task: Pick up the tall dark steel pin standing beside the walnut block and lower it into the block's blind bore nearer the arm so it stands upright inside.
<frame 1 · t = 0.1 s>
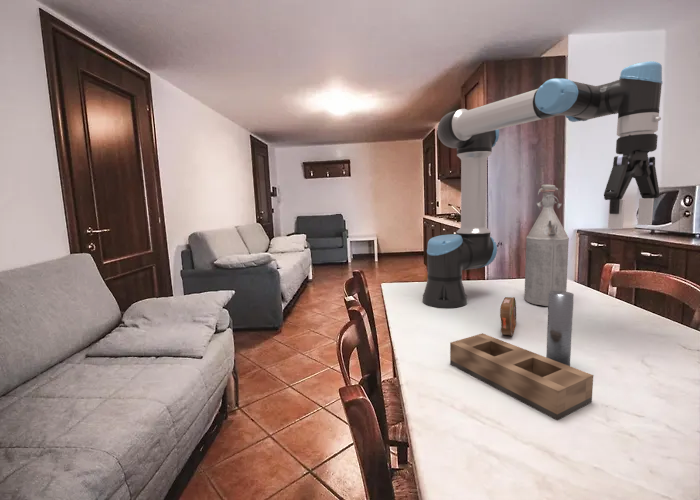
hand: (630, 226, 87), 28 cm above the table, fingers open, 13 cm apart
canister: (545, 302, 124), on the table
tin: (508, 330, 98), on the table
pin: (557, 366, 76), on the table
bore block: (512, 381, 71), on the table
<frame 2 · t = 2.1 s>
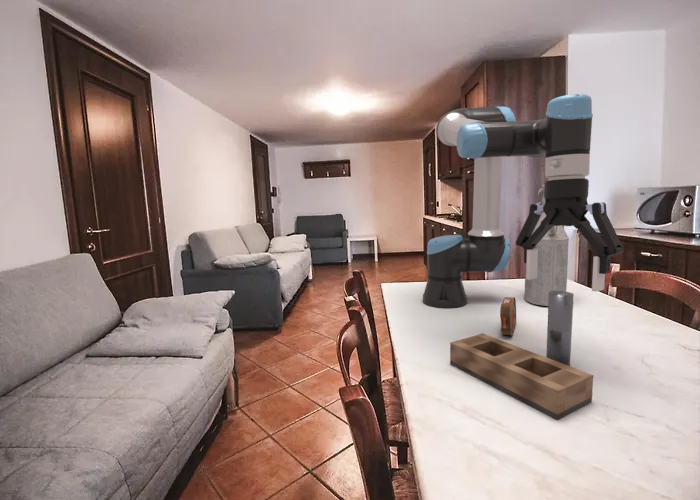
hand: (562, 284, 74), 18 cm above the table, fingers open, 13 cm apart
nothing on the table moved.
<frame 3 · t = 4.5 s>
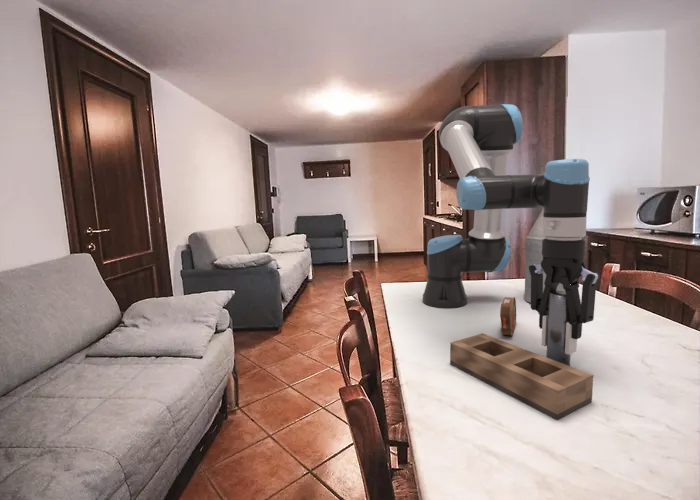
hand: (558, 348, 76), 4 cm above the table, fingers closed on pin, 4 cm apart
pin: (557, 366, 76), on the table, touching gripper
everything else where it was.
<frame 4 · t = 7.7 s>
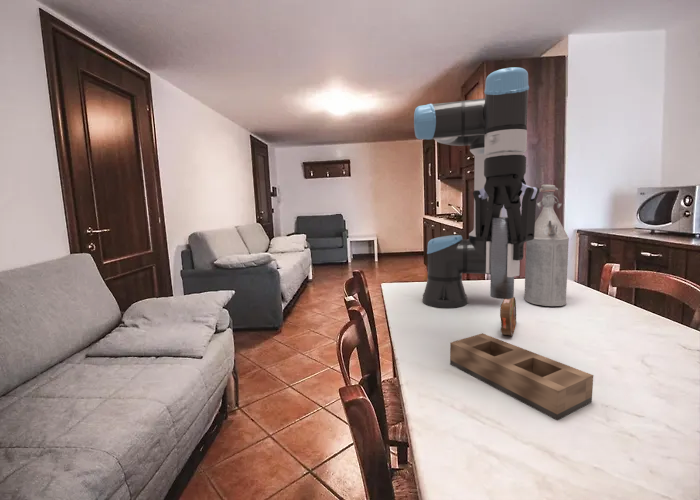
hand: (502, 273, 73), 21 cm above the table, fingers closed on pin, 4 cm apart
pin: (501, 296, 73), point 16 cm above the table, touching gripper
everything else where it was.
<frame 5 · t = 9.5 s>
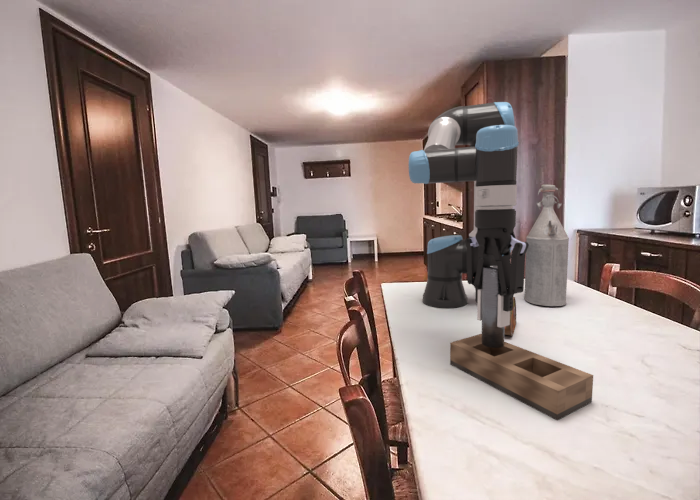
hand: (493, 322, 74), 11 cm above the table, fingers closed on pin, 4 cm apart
pin: (492, 343, 74), point 6 cm above the table, touching gripper
everything else where it was.
when the fingers open (7 cm above the table, at t = 10.9 s): pin stays where it is, resting on bore block.
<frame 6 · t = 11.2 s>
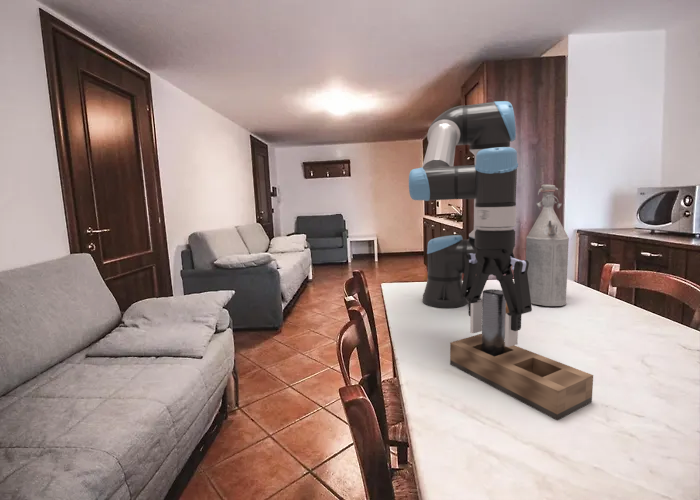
hand: (492, 337, 74), 7 cm above the table, fingers open, 8 cm apart
pin: (492, 366, 75), point 1 cm above the table, touching bore block
everything else where it was.
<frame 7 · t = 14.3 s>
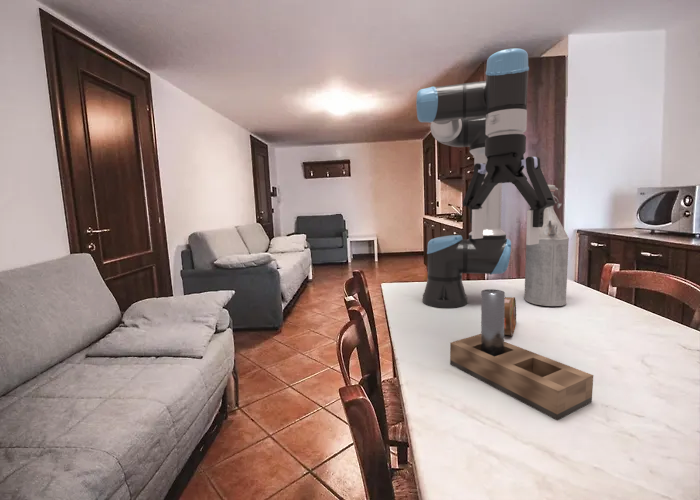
hand: (502, 241, 75), 27 cm above the table, fingers open, 13 cm apart
nothing on the table moved.
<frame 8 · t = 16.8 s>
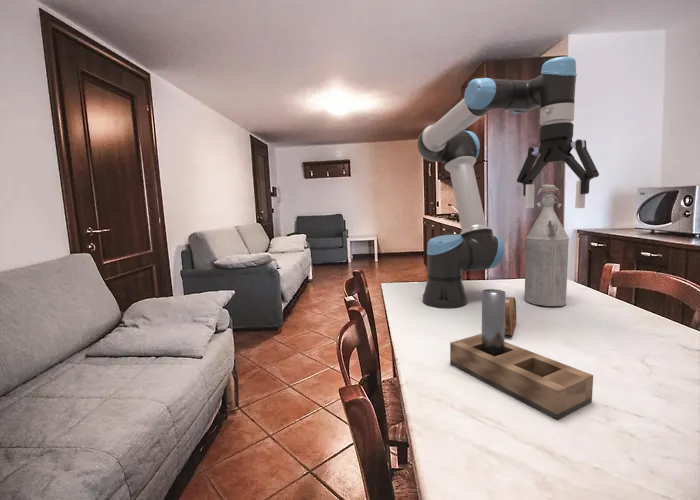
hand: (553, 208, 94), 33 cm above the table, fingers open, 13 cm apart
nothing on the table moved.
at the end: pin 0.0 cm from the target spot on the bore block, point 1.0 cm above the bore block's base; pin tilted 0°; the gripper is holding nothing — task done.
